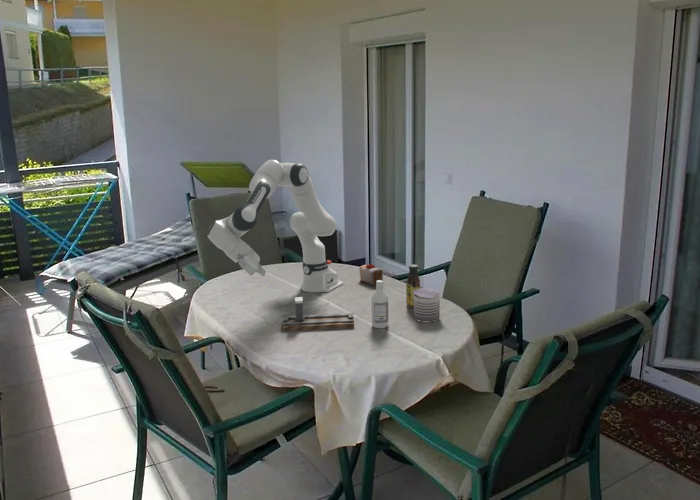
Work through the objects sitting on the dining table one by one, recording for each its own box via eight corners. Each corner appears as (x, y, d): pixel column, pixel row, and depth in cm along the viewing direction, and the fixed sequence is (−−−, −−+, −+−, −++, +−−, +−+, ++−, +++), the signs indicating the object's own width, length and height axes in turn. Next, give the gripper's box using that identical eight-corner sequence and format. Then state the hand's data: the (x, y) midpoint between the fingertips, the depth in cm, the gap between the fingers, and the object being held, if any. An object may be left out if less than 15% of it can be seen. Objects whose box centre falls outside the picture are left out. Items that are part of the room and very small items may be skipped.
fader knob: (295, 322, 272) (293, 301, 269) (295, 318, 277) (294, 297, 274) (304, 322, 272) (303, 300, 270) (304, 318, 277) (303, 296, 275)
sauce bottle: (405, 304, 297) (405, 263, 292) (418, 303, 298) (418, 262, 293) (407, 309, 291) (407, 267, 286) (421, 308, 292) (421, 266, 286)
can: (424, 311, 288) (424, 286, 285) (444, 317, 280) (445, 291, 277) (408, 318, 280) (408, 292, 277) (428, 324, 273) (428, 297, 270)
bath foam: (391, 327, 271) (390, 282, 266) (376, 330, 268) (376, 284, 263) (383, 321, 277) (382, 277, 272) (369, 324, 274) (368, 280, 269)
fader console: (283, 331, 269) (282, 323, 268) (284, 321, 281) (283, 313, 280) (354, 328, 271) (354, 320, 270) (352, 317, 282) (352, 310, 281)
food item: (357, 280, 335) (357, 262, 332) (369, 278, 339) (369, 260, 337) (372, 287, 324) (372, 268, 321) (385, 284, 328) (385, 265, 326)
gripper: (242, 253, 255) (268, 275, 258) (246, 241, 275) (270, 262, 278) (231, 264, 256) (257, 286, 259) (237, 251, 275) (261, 272, 278)
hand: (264, 274), depth 268 cm, fingers closed
